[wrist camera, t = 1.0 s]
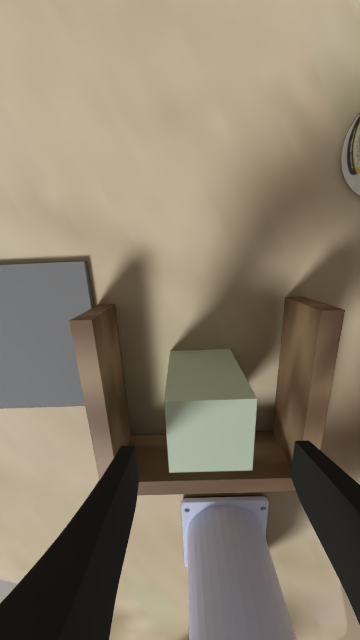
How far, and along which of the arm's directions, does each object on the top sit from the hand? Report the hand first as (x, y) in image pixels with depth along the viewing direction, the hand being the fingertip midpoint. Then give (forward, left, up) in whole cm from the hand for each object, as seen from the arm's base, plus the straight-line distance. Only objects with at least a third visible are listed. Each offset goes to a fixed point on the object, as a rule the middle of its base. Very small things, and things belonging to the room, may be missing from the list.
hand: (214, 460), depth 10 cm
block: (0, 0, -7) cm, 7 cm away
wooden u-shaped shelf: (0, 0, -7) cm, 7 cm away
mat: (+3, +13, -7) cm, 15 cm away
